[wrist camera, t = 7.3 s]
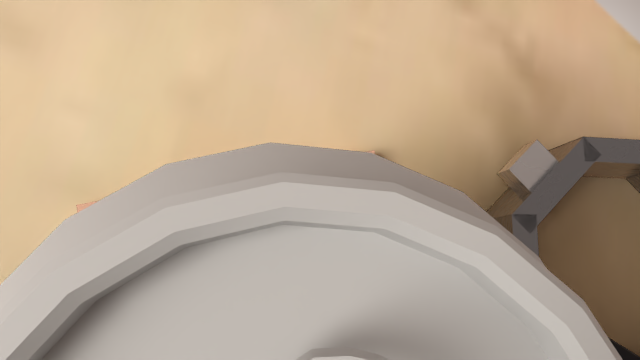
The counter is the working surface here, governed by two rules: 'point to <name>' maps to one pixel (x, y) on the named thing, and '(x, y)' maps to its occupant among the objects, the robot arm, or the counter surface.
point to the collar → (557, 179)
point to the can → (290, 270)
